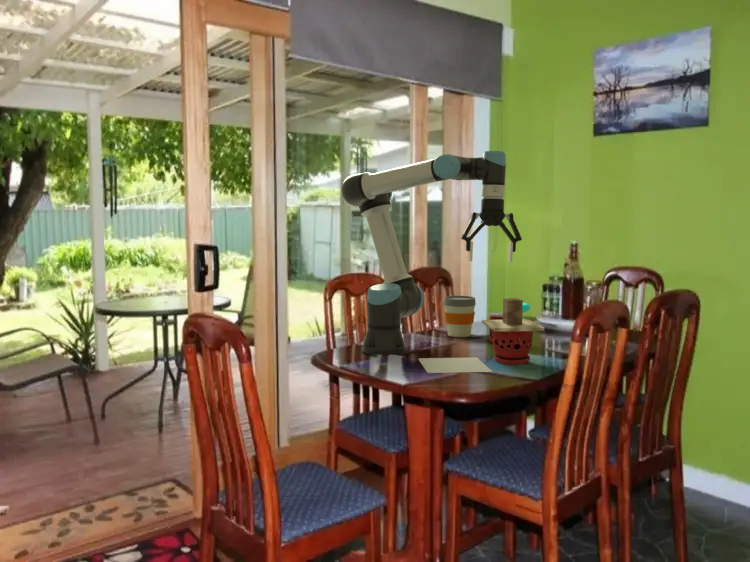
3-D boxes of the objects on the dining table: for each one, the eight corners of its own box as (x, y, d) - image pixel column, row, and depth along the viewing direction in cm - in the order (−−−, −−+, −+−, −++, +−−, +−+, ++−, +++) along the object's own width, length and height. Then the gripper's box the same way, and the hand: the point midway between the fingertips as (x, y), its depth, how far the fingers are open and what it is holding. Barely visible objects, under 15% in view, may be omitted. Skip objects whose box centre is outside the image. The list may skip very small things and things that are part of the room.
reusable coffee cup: (437, 335, 268) (438, 298, 267) (451, 331, 279) (452, 294, 277) (467, 339, 262) (467, 300, 260) (480, 334, 272) (480, 297, 271)
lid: (494, 331, 212) (495, 303, 211) (482, 322, 228) (482, 296, 227) (544, 330, 214) (545, 302, 213) (528, 322, 230) (529, 295, 229)
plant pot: (486, 358, 228) (487, 323, 227) (524, 357, 229) (525, 322, 228) (497, 367, 215) (498, 330, 214) (537, 366, 216) (538, 329, 215)
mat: (427, 374, 206) (427, 372, 206) (417, 359, 226) (417, 358, 226) (492, 373, 208) (492, 371, 207) (477, 358, 227) (477, 357, 227)
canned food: (508, 340, 259) (509, 312, 258) (510, 344, 251) (511, 315, 250) (488, 340, 260) (489, 311, 259) (489, 344, 252) (490, 315, 251)
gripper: (457, 197, 222) (455, 261, 225) (532, 198, 224) (529, 263, 226) (453, 197, 230) (451, 259, 232) (526, 198, 231) (523, 260, 234)
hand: (490, 261), depth 229 cm, fingers open, 13 cm apart
